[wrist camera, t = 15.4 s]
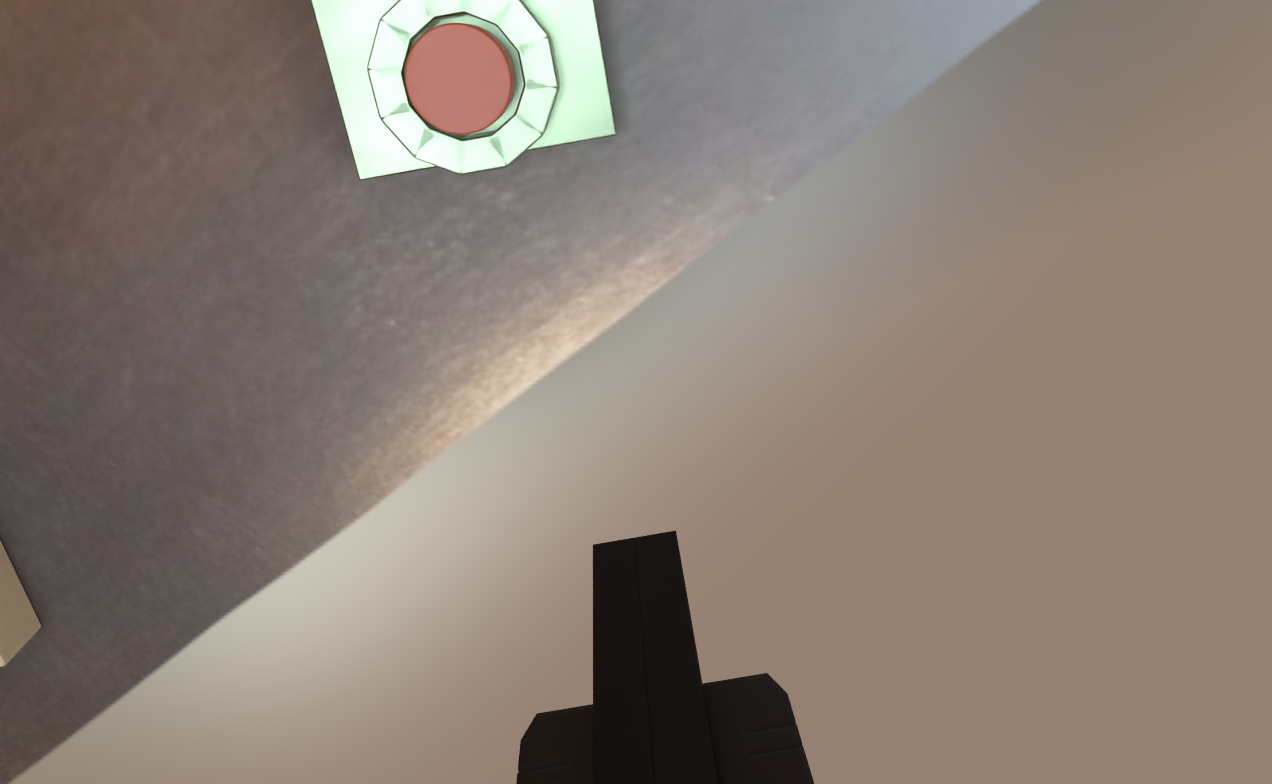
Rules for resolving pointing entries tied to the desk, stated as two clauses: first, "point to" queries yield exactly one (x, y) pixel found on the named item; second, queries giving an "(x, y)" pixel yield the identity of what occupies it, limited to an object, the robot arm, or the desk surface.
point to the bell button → (459, 78)
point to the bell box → (538, 113)
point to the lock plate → (13, 612)
